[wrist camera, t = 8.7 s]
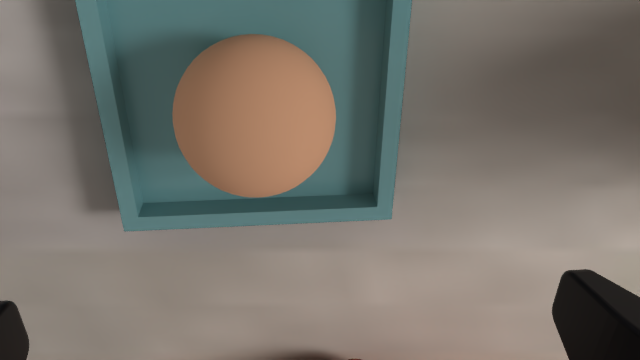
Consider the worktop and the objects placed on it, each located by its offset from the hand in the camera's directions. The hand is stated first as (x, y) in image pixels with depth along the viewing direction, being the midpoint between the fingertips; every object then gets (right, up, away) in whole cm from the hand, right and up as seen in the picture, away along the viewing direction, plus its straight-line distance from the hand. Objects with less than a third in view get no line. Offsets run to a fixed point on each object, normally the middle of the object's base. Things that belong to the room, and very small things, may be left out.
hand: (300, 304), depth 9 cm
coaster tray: (-2, +6, +10) cm, 12 cm away
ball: (-2, +5, +10) cm, 11 cm away
